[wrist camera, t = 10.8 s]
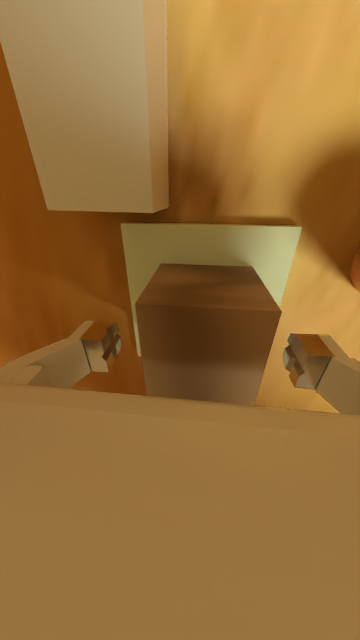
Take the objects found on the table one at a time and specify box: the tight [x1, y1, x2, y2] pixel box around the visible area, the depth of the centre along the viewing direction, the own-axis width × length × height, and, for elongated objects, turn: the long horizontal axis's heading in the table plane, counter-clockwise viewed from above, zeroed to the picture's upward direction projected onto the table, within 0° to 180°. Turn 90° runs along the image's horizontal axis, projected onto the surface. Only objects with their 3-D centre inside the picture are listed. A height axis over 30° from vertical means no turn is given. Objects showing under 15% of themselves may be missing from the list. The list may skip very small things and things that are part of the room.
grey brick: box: [0, 0, 169, 213], centre depth 7 cm, size 8×4×4 cm, turn 179°
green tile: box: [120, 222, 302, 356], centre depth 13 cm, size 9×9×1 cm
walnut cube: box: [135, 263, 282, 406], centre depth 10 cm, size 5×5×5 cm
